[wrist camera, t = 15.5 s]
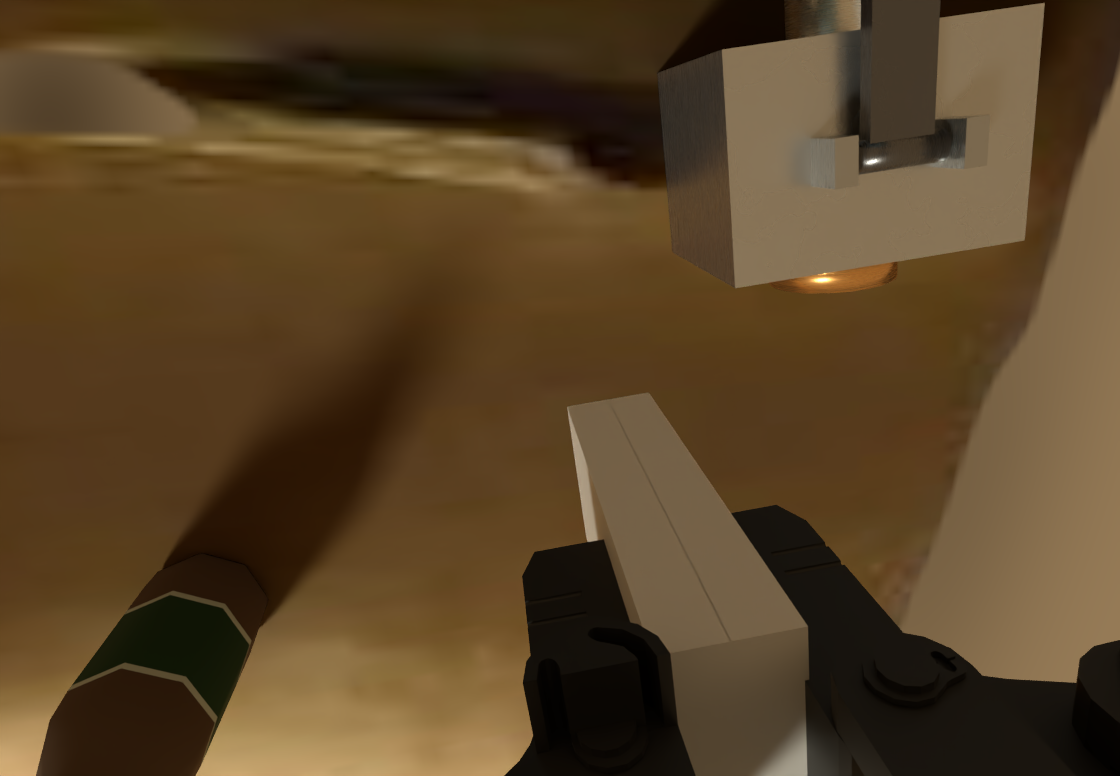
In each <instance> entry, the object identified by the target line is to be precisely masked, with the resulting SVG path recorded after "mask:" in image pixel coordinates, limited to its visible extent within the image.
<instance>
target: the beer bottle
mask: <svg viewBox="0 0 1120 776" xmlns="http://www.w3.org/2000/svg"><path fill="white" fill-rule="evenodd" d="M267 602H268V598H267V596H266V595H265V593H264V592H263V590H262V589H261V587H260V586H259V584H258V583H257V582H256V580H255V579H254V577H253V576H252V574H251V573H250V571H249V570H248V569H247V567H246V566H245V565H244V564H240V563H236V562H232V561H229V560H225V559H221V558H217V557H214V556H210V555H206V554H202V553H201V554H198V555H196V556H193V557H191V558H189V559H186V560H184V561H182V562H179V563H177V564H175V565H172V566H170V567H168V568H165V569H163V570H161V571H158V572H157V573H156V575H155V576H154V577H153V578H152V579H151V580H150V581H149V583H148V584H147V585H146V586H145V587H144V589H143V590H142V591H141V593H140V594H139V595H138V597H137V598H136V599H135V601H134V602H133V603H132V605H131V606H130V608H129V609H128V610H127V612H126V613H125V614H124V616H123V617H122V618H121V620H120V621H119V622H118V624H117V625H116V626H115V628H114V629H113V631H112V632H111V633H110V635H109V636H108V637H107V639H106V640H105V641H104V643H103V644H102V645H101V647H100V648H99V649H98V651H97V652H96V653H95V655H94V656H93V658H92V659H91V660H90V662H89V663H88V664H87V666H86V667H85V668H84V670H83V671H82V672H81V674H80V675H79V676H78V678H77V679H76V681H75V682H74V683H73V685H72V686H71V687H70V689H69V690H68V691H67V693H66V695H65V696H64V698H63V700H62V701H61V703H60V705H59V706H58V708H57V709H56V711H55V713H54V714H53V716H52V718H51V719H50V722H49V726H48V730H47V734H46V738H45V742H44V746H43V750H42V754H41V758H40V762H39V766H38V770H37V774H36V776H195V775H196V773H197V772H198V770H199V768H200V766H201V764H202V762H203V759H204V757H205V755H206V753H207V750H208V748H209V746H210V743H211V741H212V739H213V737H214V734H215V732H216V730H217V727H218V725H219V723H220V721H221V718H222V716H223V714H224V712H225V709H226V707H227V705H228V702H229V700H230V698H231V696H232V693H233V691H234V689H235V686H236V684H237V682H238V680H239V677H240V675H241V673H242V671H243V668H244V666H245V664H246V661H247V659H248V657H249V655H250V652H251V649H252V646H253V643H254V641H255V638H256V635H257V632H258V629H259V626H260V623H261V620H262V617H263V614H264V611H265V608H266V605H267Z"/></svg>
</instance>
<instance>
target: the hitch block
mask: <svg viewBox="0 0 1120 776" xmlns="http://www.w3.org/2000/svg"><path fill="white" fill-rule="evenodd" d="M1044 6H1045V3H1040V4H1033V5H1026V6H1019V7H1012V8H1005V9H998V10H991V11H985V12H978V13H971V14H964V15H957V16H950V17H943V18H940V22H939V44H938V66H937V88H936V110H935V129H936V128H945V129H946V130H947V131H948V132H949V134H950V138H951V150H950V153H949V155H948V157H947V158H946V160H944V161H942V162H937V163H930V164H924V165H918V166H911V167H905V168H899V169H892V170H886V171H880V172H873V173H867V174H860V175H858V174H859V132H860V31H861V29H860V30H854V31H847V32H840V33H833V34H826V35H819V36H812V37H805V38H798V39H791V40H785V41H778V42H771V43H764V44H757V45H750V46H743V47H736V48H729V49H723V50H719V51H717V52H714V53H711V54H708V55H706V56H703V57H700V58H697V59H695V60H692V61H689V62H686V63H684V64H681V65H678V66H675V67H673V68H670V69H667V70H664V71H662V72H659V73H658V85H659V97H660V108H661V120H662V132H663V144H664V155H665V167H666V179H667V191H668V202H669V214H670V226H671V238H672V250H673V253H675V254H677V255H678V256H680V257H682V258H684V259H685V260H687V261H689V262H691V263H692V264H694V265H696V266H698V267H699V268H701V269H703V270H705V271H706V272H708V273H710V274H711V275H713V276H715V277H717V278H718V279H720V280H722V281H724V282H725V283H727V284H729V285H731V286H732V287H734V288H739V287H745V286H751V285H757V284H763V283H769V282H776V281H782V280H788V279H794V278H800V277H806V276H812V275H818V274H824V273H830V272H836V271H842V270H848V269H854V268H860V267H866V266H872V265H878V264H884V263H891V262H897V261H903V260H909V259H915V258H921V257H927V256H933V255H939V254H945V253H951V252H957V251H963V250H969V249H975V248H981V247H987V246H993V245H999V244H1006V243H1012V242H1018V241H1024V240H1025V229H1026V217H1027V206H1028V194H1029V182H1030V170H1031V159H1032V147H1033V135H1034V123H1035V112H1036V100H1037V88H1038V76H1039V65H1040V53H1041V41H1042V29H1043V18H1044Z"/></svg>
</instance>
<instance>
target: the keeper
mask: <svg viewBox="0 0 1120 776" xmlns="http://www.w3.org/2000/svg"><path fill="white" fill-rule="evenodd" d="M939 22H940V0H861V31H860V132H859V174H858V175H860V174H867V173H873V172H880V171H886V170H892V169H899V168H905V167H911V166H918V165H924V164H930V163H937V162H942V161H944V160H946V158H947V157H948V155H949V153H950V150H951V138H950V134H949V132H948V131H947V130H946V129H945V128H936V129H935V110H936V88H937V66H938V44H939Z"/></svg>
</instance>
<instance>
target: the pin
mask: <svg viewBox="0 0 1120 776" xmlns="http://www.w3.org/2000/svg"><path fill="white" fill-rule="evenodd" d="M784 2H785V39H786V40H791V39H798V38H805V37H812V36H819V35H826V34H833V33H840V32H847V31H854V30H860V29H861V0H784ZM897 262H898V261H897ZM897 262H891V263H884V264H878V265H872V266H866V267H860V268H854V269H848V270H842V271H836V272H830V273H824V274H818V275H812V276H806V277H800V278H794V279H788V280H782V281H776V282H769V284H770V285H771V286H772V287H774V288H776V289H779V290H783V291H788V292H796V293H817V294H818V293H840V292H850V291H858V290H864V289H869V288H874V287H878V286H881V285H884V284H887V283H889V282H891V281H893V280H894V279H895V278H896V277H897Z"/></svg>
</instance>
